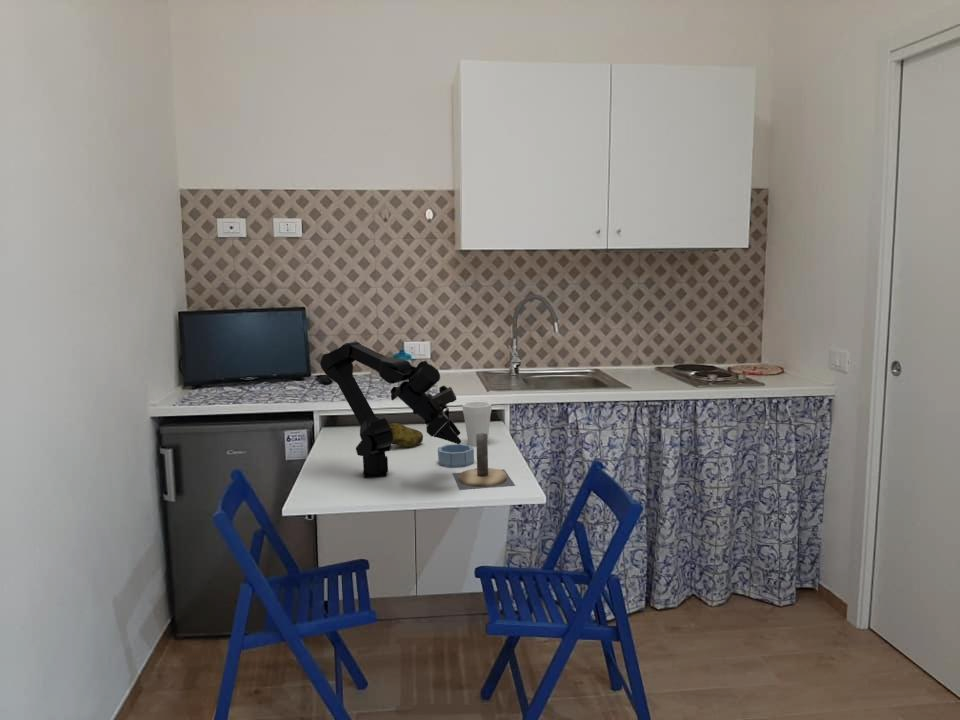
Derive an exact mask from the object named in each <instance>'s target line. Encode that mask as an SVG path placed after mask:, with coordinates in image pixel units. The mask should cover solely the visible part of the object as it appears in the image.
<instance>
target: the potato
mask: <svg viewBox="0 0 960 720" xmlns="http://www.w3.org/2000/svg"><path fill="white" fill-rule="evenodd" d="M388 424H389V423H388ZM389 426H390V427H391V428H392V430H391V431H392V433H393V441H392V444H391V445H395V446H398V447H400V448H413V447H417V446H418V445H420V444H421V443H422V442H423V440H424V435H423V432H421V431H419V430H418V429H415V428H411V427H408V426H406V425H404V424H402V423H398V422H397V423H395V422H394V423H393V422H392V423H390V424H389Z"/></svg>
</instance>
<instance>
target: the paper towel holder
mask: <svg viewBox="0 0 960 720" xmlns="http://www.w3.org/2000/svg"><path fill="white" fill-rule="evenodd" d="M488 445H489V444H488V442H487V434H484V433H481V434H477V435H476V446H475V447H476V468H471V469H467V470H463V471H461V472H459V473H460V474H459V481H460V482H461V483H462V484H465V485H468V486H475V487H487V486H495V485H499V484H502V483H504V482H505V481H506V479H507V477H506V473H507V472H506V473H505V472H504V471H502V470H503V469H500V468H499V469H497V468H491V467H489V453H488V452H489V451H488V448H489V447H488Z"/></svg>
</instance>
